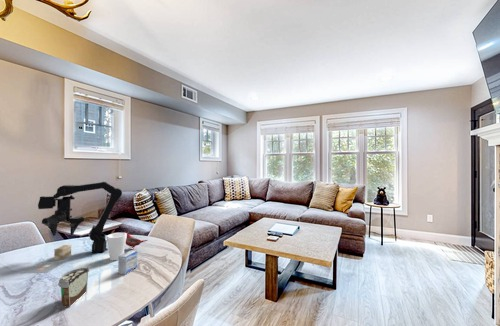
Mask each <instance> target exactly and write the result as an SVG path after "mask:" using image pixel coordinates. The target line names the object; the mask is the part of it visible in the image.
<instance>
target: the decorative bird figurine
mask: <svg viewBox="0 0 500 326" xmlns="http://www.w3.org/2000/svg"><path fill="white" fill-rule="evenodd" d="M125 233H126V234H127V238H126V243H125V245H127V246H128V247H130V248H133V249H134V248H135V247H137V246H139V245H140V244H141V243H145V242H148V239H145V240H142V239H139V238H137V237H135V236H132V235H130V234H129V233H128V232H125Z"/></svg>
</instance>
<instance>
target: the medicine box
mask: <svg viewBox="0 0 500 326" xmlns="http://www.w3.org/2000/svg"><path fill="white" fill-rule="evenodd" d="M117 264H118V269H117V272H118V273H119V274H118V273H117V274H118V275H125V274H126V275H128V274H129V273H131V272H132V271H134V270H135V269H137V268H138V251H137V250H134V249H130V250H129V251H126V252H124V254H122V255H120V256H119V257H118V260H117ZM136 267H137V268H136ZM134 268H135V269H134ZM133 269H134V270H133ZM131 270H132V271H131ZM130 271H131V272H130ZM128 272H129V273H128ZM127 273H128V274H127Z"/></svg>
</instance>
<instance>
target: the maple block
mask: <svg viewBox="0 0 500 326" xmlns="http://www.w3.org/2000/svg"><path fill="white" fill-rule="evenodd" d="M53 254H54V255H53V259H54V261H55V260H57V261H58V260H59V261H60V260H63V261H64V260H65V259H67V258H68V257H70V256H72V244H63V245H61V246H59V247H56V248H54V253H53Z"/></svg>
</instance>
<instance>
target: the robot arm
mask: <svg viewBox="0 0 500 326" xmlns="http://www.w3.org/2000/svg"><path fill="white" fill-rule="evenodd" d="M100 189H101V190H104V191H106V192H107V193H108V194H110V195H109V199H108V202H107V204H106V206H105V208H104V210H103V212H102V214H101V216H100V218H99V219H98V222H97V223H96V225H94V224H93V225H92V227H91V230H90V231H89V233H88V235H89V240H91V241H92V244H91V252H90V254H103V253H105V252H106V251H109V249H108V247H107V244H108V241H107V235H106V234H104V227H105V224H106V223H107V222H108V221H107V220H108V219H109V216H110V214H112V213H111V212H112V210H113V209H114V207H115V204H116V203H117V202H118V201H119V199H120V198H121V197H122V194H123V192H122V189H121V188H118V187H114V186H113V185H111V184H109V183H108V182H107V181H100V182H93V183H86V184H80V185H79V184H77V185H75V184H64V185H61V186H59V187H58V188H57V189H56V193H55V194H53V196H52V195H50V196H43V195H42V196H39V199H38V203H37V207H38V210H49V209H54V207H57V208H56V210H55V211H54V214H52V215H50V216H48V217H44V218H42V219H41V224H42V225H44V226H47V228H49V229H50V231H51V234H52V237H54V236H56V235H57V229H58V225H59V223H70V224H68V225H69V227H70V236H73V235H74V233H76V230H77V228H78V227H79V225H80V224H82V223H83V222H85V218H84V217H83V216H74V217H73V215H71V211H73V208H71V206H72V205H71V204H72V203H71V201H72V200H75V199H76V197H74V195H73V194H76V193H80V192H87V191H95V190H100ZM61 197H62V198H61Z"/></svg>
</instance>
